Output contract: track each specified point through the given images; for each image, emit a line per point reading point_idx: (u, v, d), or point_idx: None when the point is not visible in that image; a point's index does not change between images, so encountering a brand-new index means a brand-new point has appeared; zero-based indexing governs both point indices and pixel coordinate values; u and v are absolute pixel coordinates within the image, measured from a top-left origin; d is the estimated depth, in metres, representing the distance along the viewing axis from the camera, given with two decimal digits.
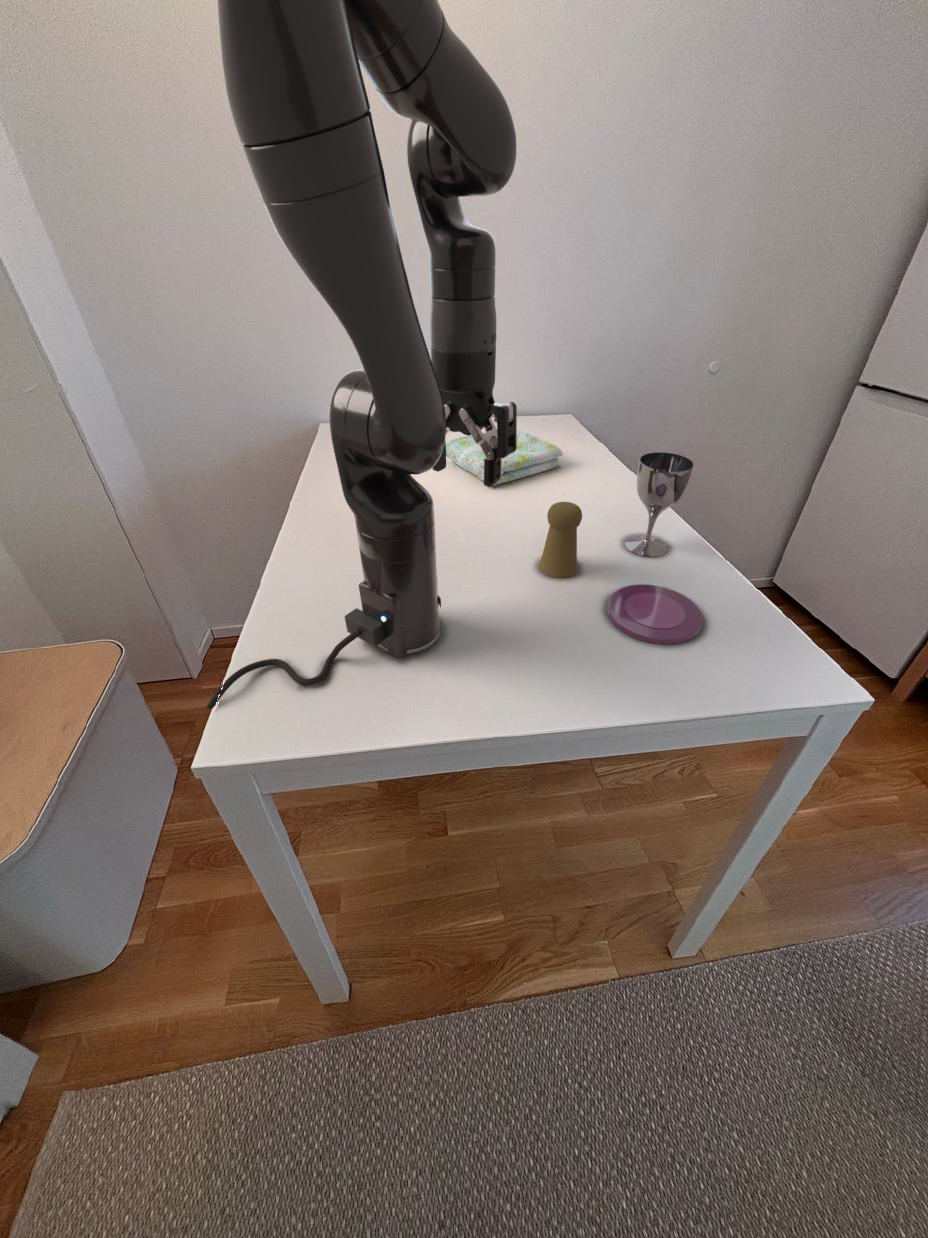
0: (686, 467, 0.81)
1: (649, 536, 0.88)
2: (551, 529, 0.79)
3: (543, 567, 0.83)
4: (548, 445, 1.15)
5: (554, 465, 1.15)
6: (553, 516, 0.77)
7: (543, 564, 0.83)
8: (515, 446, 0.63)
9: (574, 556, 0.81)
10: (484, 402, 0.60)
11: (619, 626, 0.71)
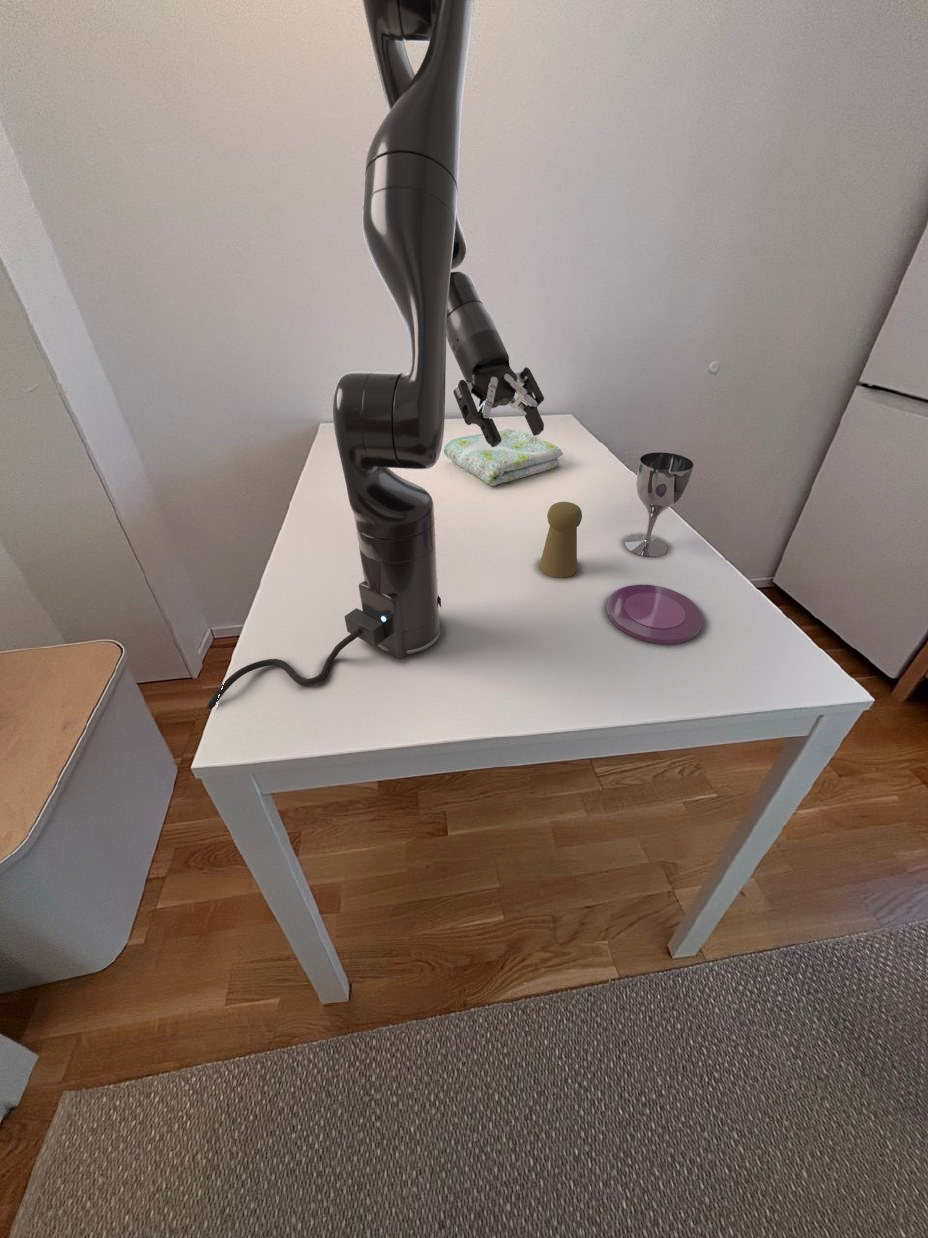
0: (686, 467, 0.81)
1: (649, 536, 0.88)
2: (551, 529, 0.79)
3: (543, 567, 0.83)
4: (548, 445, 1.15)
5: (554, 465, 1.15)
6: (553, 516, 0.77)
7: (543, 564, 0.83)
8: None
9: (574, 556, 0.81)
10: None
11: (619, 626, 0.71)
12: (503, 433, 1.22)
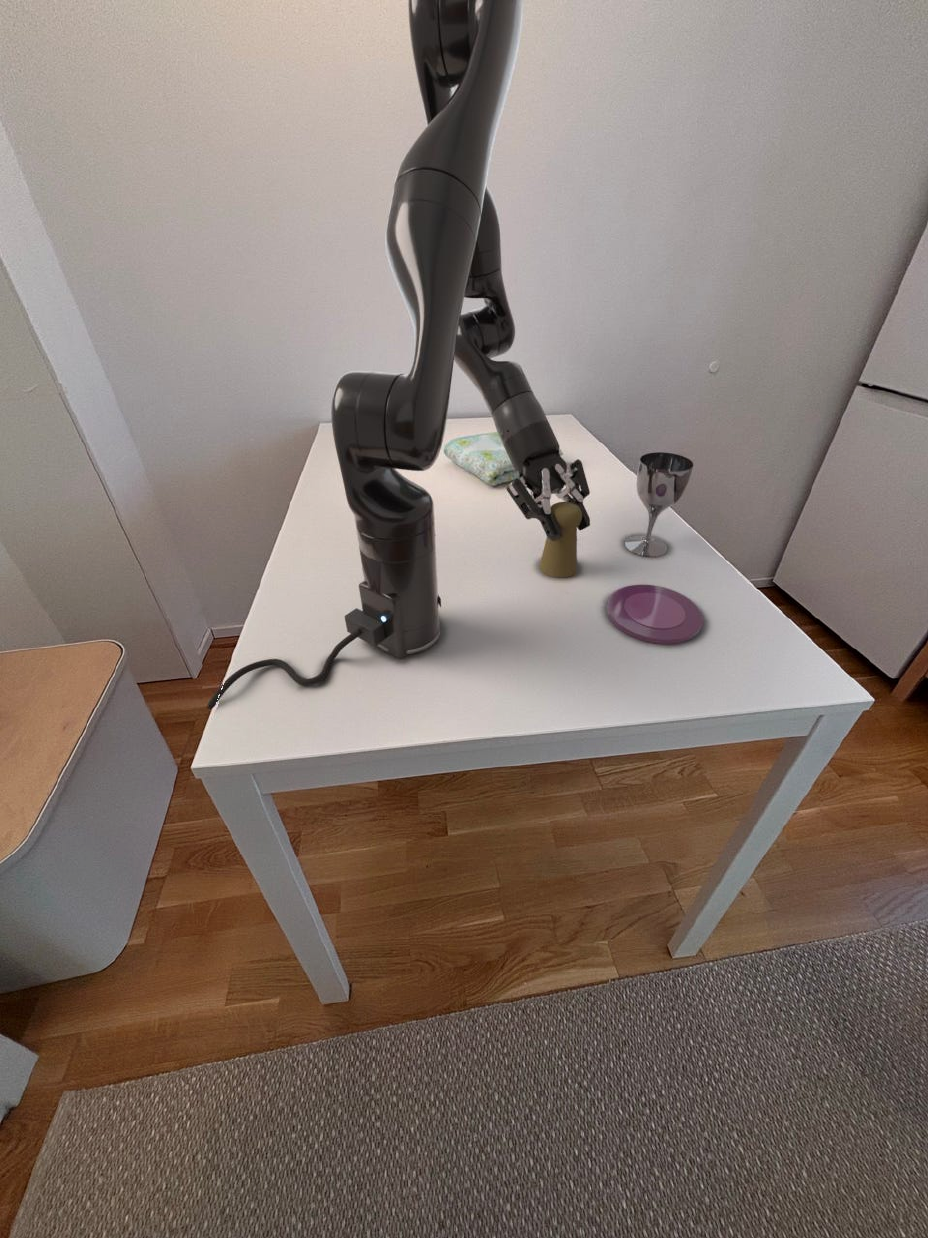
0: (686, 467, 0.81)
1: (649, 536, 0.88)
2: None
3: (543, 567, 0.83)
4: None
5: None
6: None
7: (543, 564, 0.83)
8: None
9: (574, 556, 0.81)
10: None
11: (619, 626, 0.71)
12: None
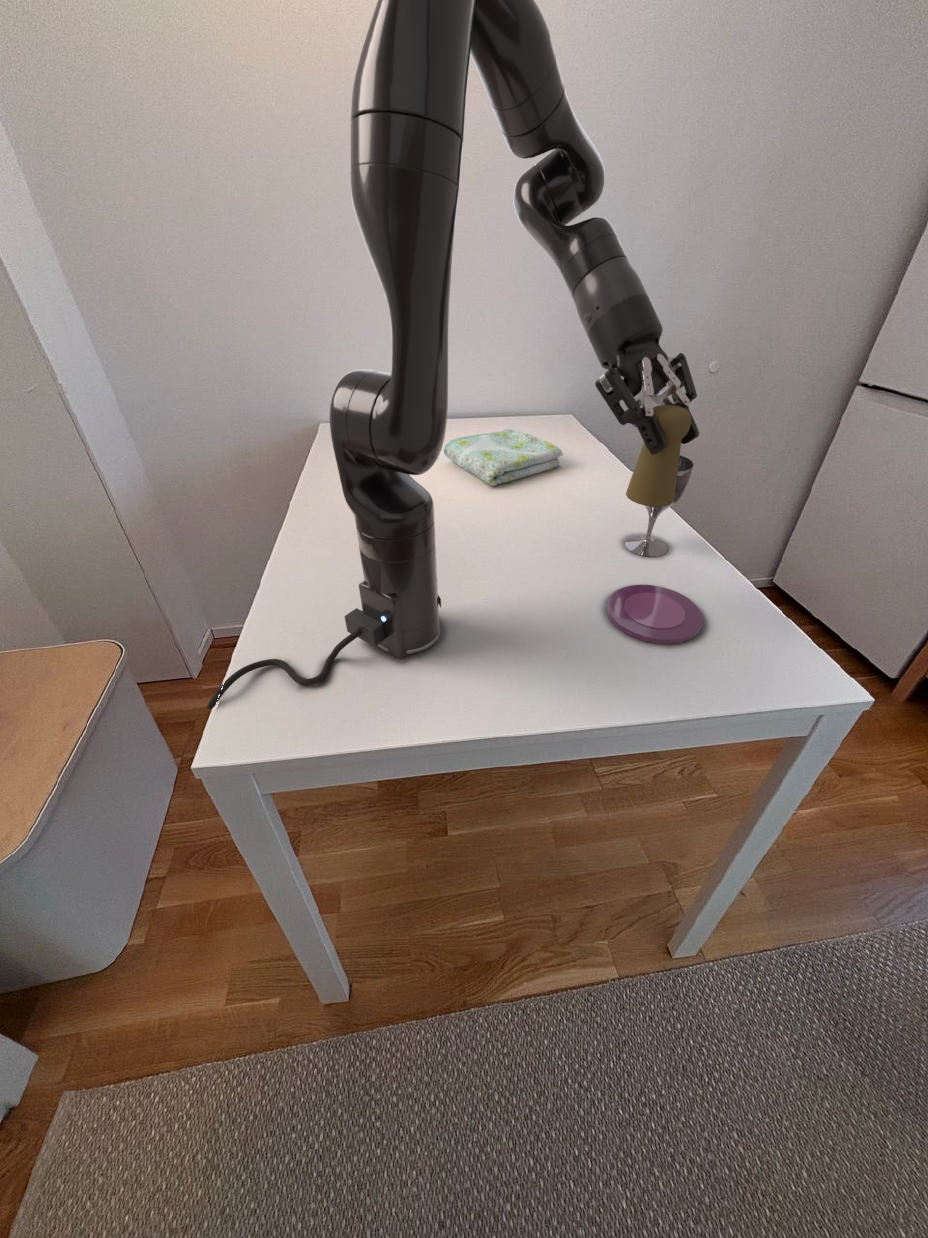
0: (686, 467, 0.81)
1: (649, 536, 0.88)
2: None
3: (633, 494, 0.65)
4: (548, 445, 1.15)
5: (554, 465, 1.15)
6: None
7: (632, 490, 0.65)
8: None
9: (675, 478, 0.63)
10: None
11: (619, 626, 0.71)
12: (503, 433, 1.22)
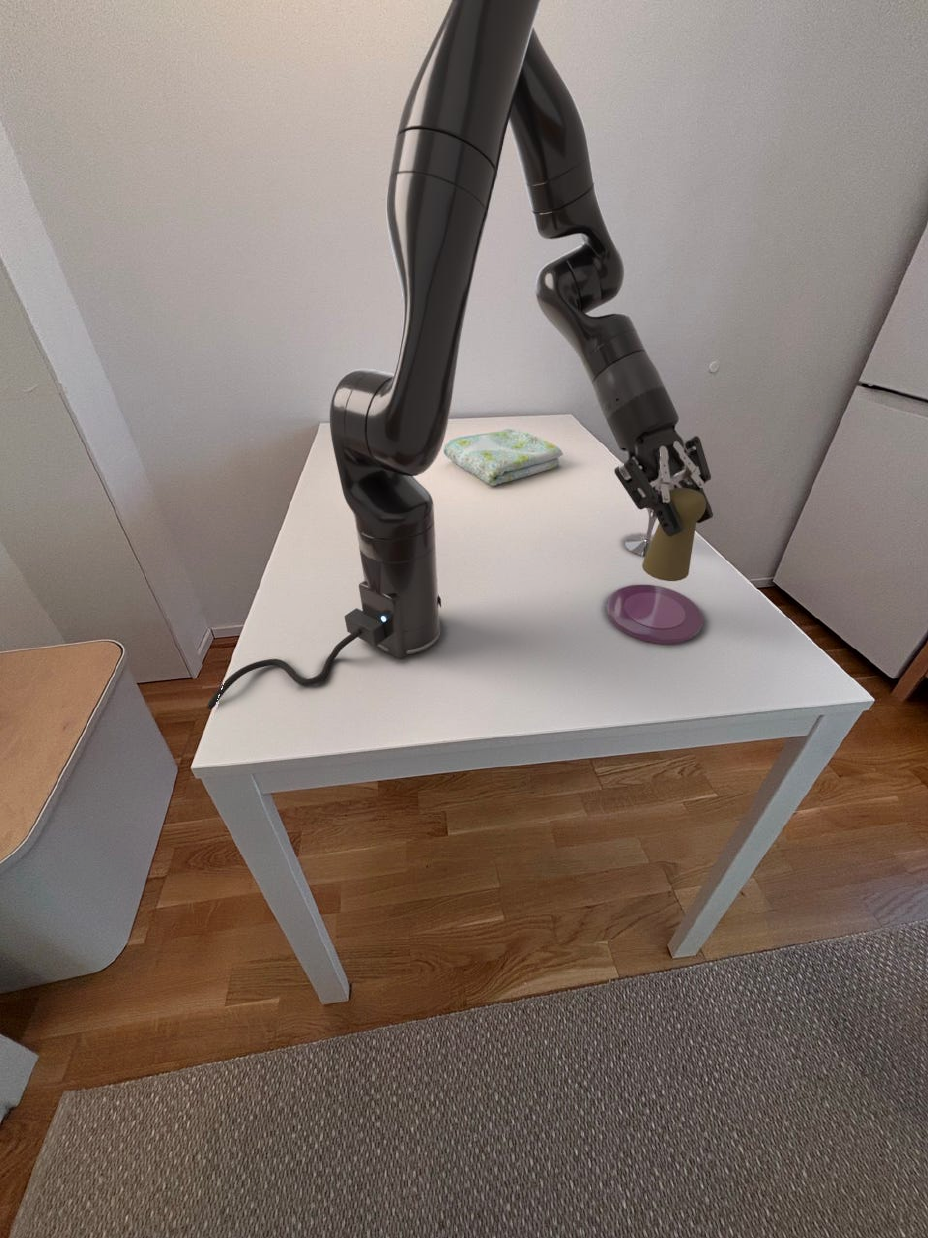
0: None
1: (649, 536, 0.88)
2: None
3: (649, 568, 0.68)
4: (548, 445, 1.15)
5: (554, 465, 1.15)
6: None
7: (649, 565, 0.68)
8: None
9: (690, 555, 0.66)
10: None
11: (619, 626, 0.71)
12: (503, 433, 1.22)
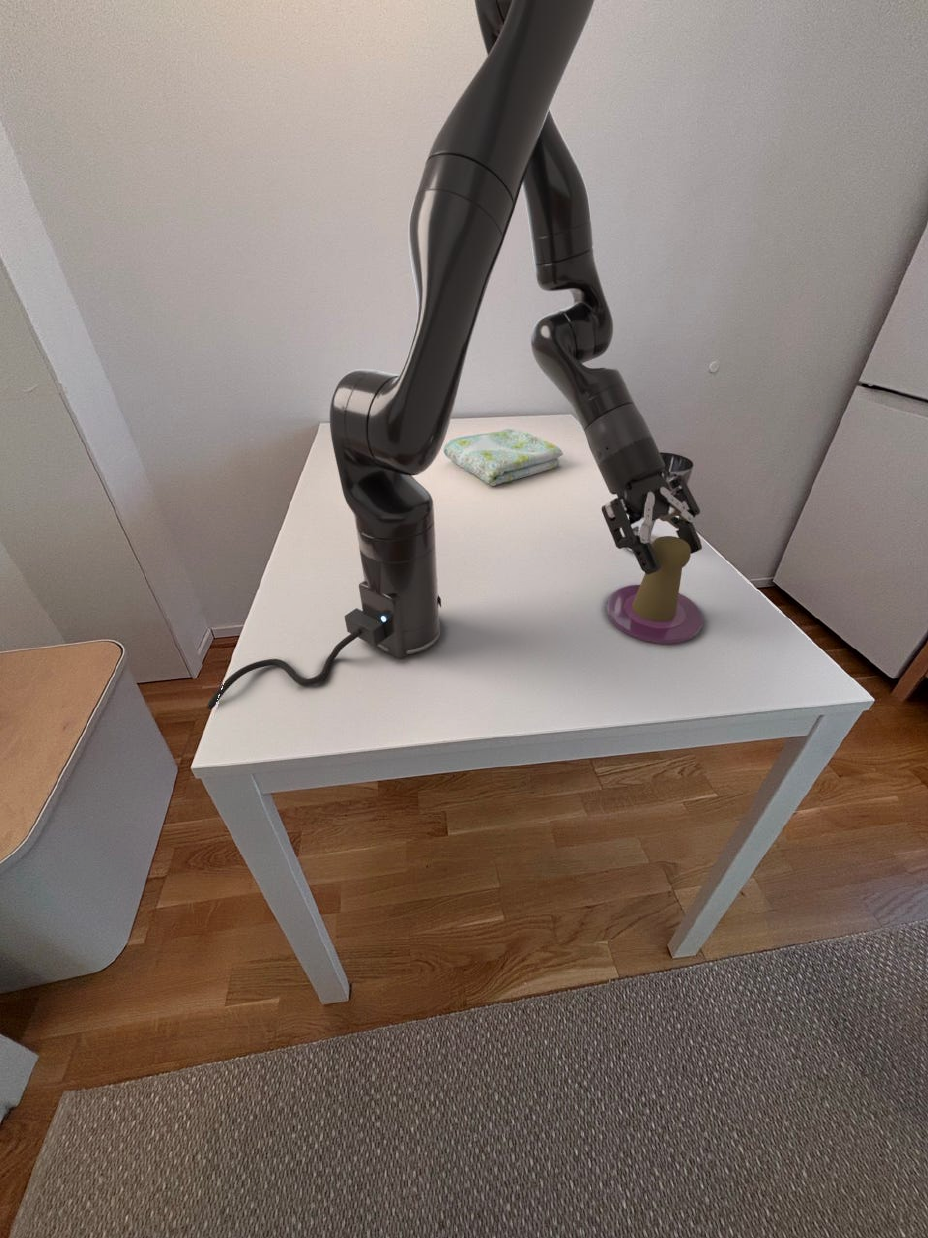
0: (686, 467, 0.81)
1: (649, 536, 0.88)
2: None
3: (639, 609, 0.72)
4: (548, 445, 1.15)
5: (554, 465, 1.15)
6: (659, 554, 0.66)
7: (638, 606, 0.72)
8: None
9: (677, 597, 0.71)
10: (665, 480, 0.69)
11: (619, 626, 0.71)
12: (503, 433, 1.22)
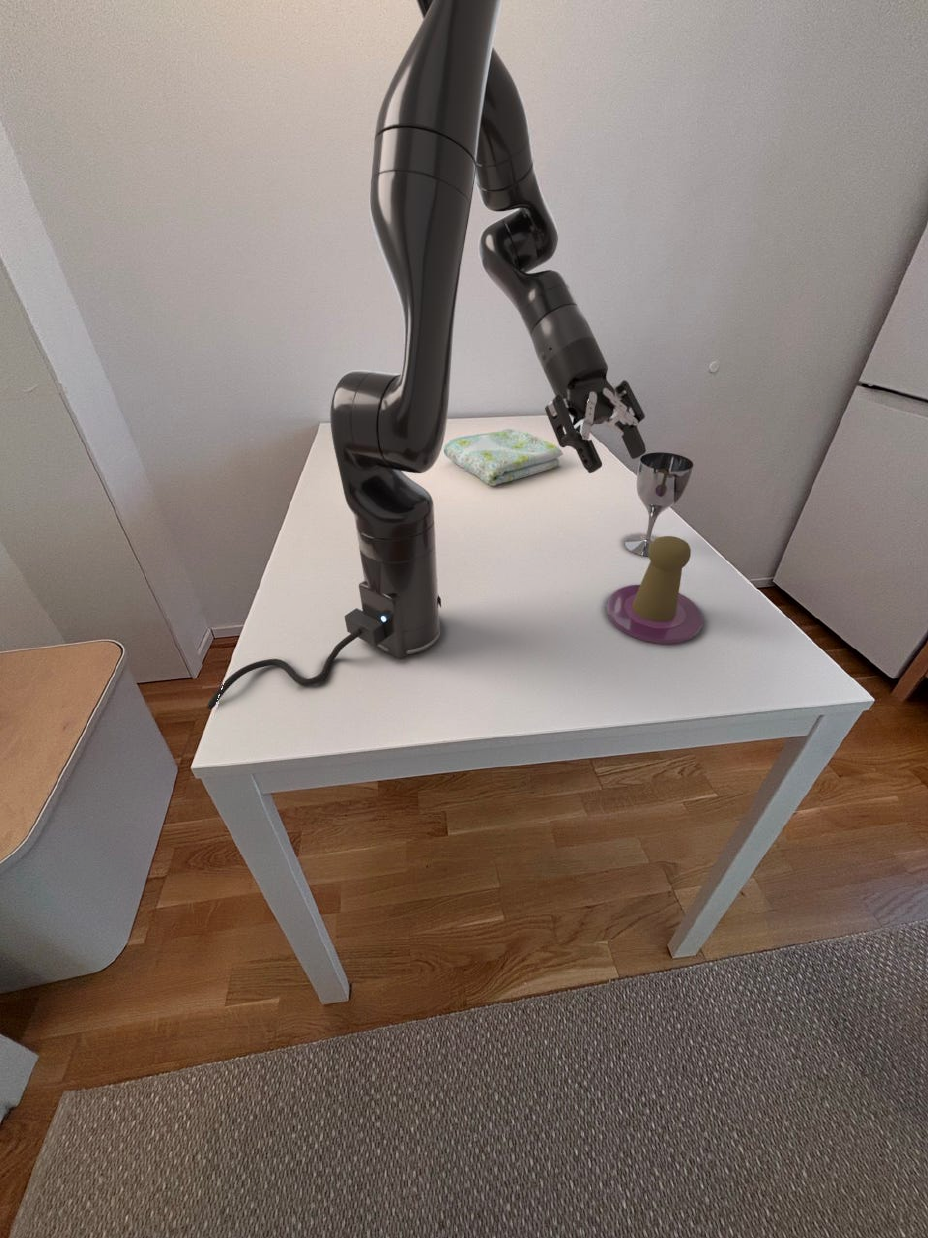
0: (686, 467, 0.81)
1: (649, 536, 0.88)
2: (653, 567, 0.69)
3: (639, 609, 0.72)
4: (548, 445, 1.15)
5: (554, 465, 1.15)
6: (659, 554, 0.66)
7: (638, 606, 0.72)
8: None
9: (677, 597, 0.71)
10: (609, 384, 0.70)
11: (619, 626, 0.71)
12: (503, 433, 1.22)
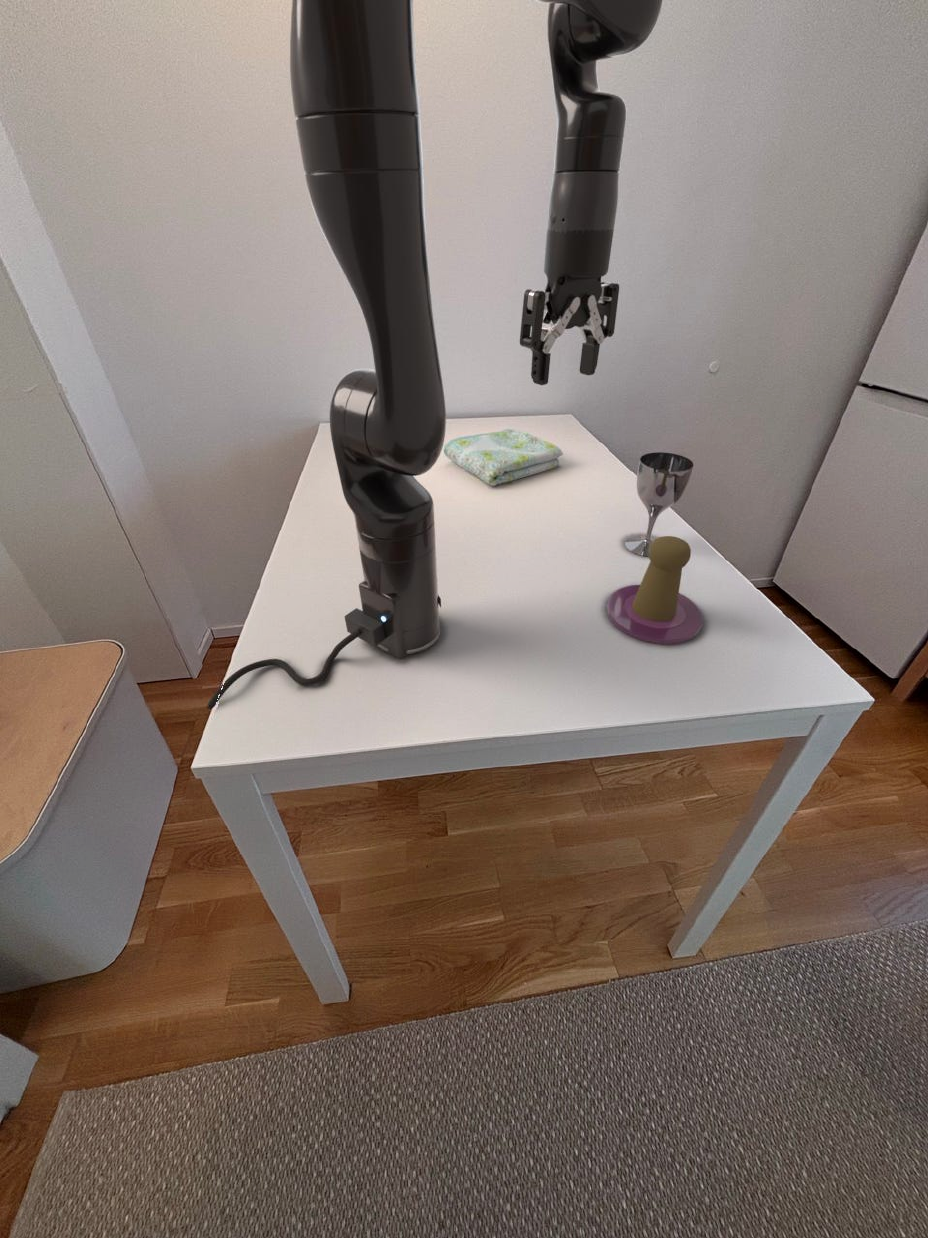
0: (686, 467, 0.81)
1: (649, 536, 0.88)
2: (653, 567, 0.69)
3: (639, 609, 0.72)
4: (548, 445, 1.15)
5: (554, 465, 1.15)
6: (659, 554, 0.66)
7: (638, 606, 0.72)
8: None
9: (677, 597, 0.71)
10: (601, 284, 0.63)
11: (619, 626, 0.71)
12: (503, 433, 1.22)
